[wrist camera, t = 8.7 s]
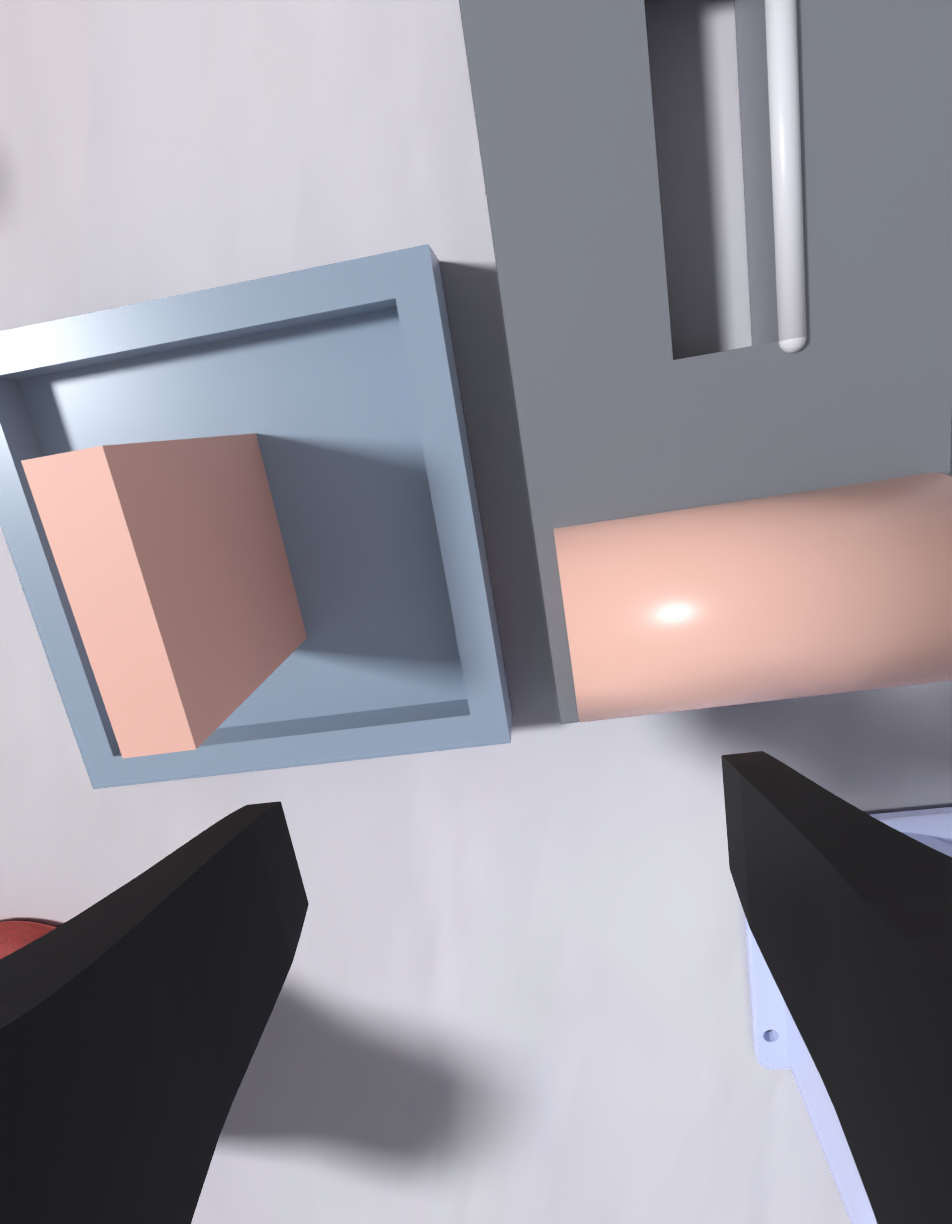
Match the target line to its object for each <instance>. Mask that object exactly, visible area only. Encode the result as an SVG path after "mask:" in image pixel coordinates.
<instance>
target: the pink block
mask: <svg viewBox="0 0 952 1224" xmlns="http://www.w3.org/2000/svg"><path fill="white" fill-rule="evenodd" d="M21 463H22V465H23V468H24V471H25V474H26V477H27V480H28V483H29V486H30V489H31V492H32V495H33V498H34V501H35V503H36V506H37V509H38V512H39V515H40V518H41V521H42V524H43V527H44V530H45V533H46V536H47V538H48V541H49V544H50V547H51V550H52V553H53V556H54V559H55V562H56V565H57V568H58V571H59V574H60V576H61V579H62V582H63V585H64V588H65V591H66V594H67V597H68V600H69V603H70V606H71V609H72V611H73V614H74V617H75V620H76V623H77V626H78V629H79V632H80V635H81V638H82V641H83V644H84V646H85V649H86V652H87V655H88V658H89V661H90V664H91V667H92V670H93V673H94V676H95V679H96V682H97V684H98V687H99V690H100V693H101V696H102V699H103V702H104V705H105V708H106V711H107V714H108V717H109V719H110V722H111V725H112V728H113V731H114V734H115V737H116V740H117V743H118V746H119V749H120V752H121V755H122V757H123V758H131V757H139V756H148V755H156V754H164V753H172V752H180V751H188V750H196V749H197V748H198V747H199V746H200V745H201V744H202V743H203V742H204V741H205V740H206V739H207V738H208V737H209V736H210V735H211V734H212V733H213V732H214V731H215V730H216V729H217V728H218V727H219V726H220V725H221V724H222V723H223V722H224V721H225V720H226V719H227V718H228V717H229V716H230V715H231V714H232V713H233V712H234V711H235V710H236V709H237V708H238V707H239V706H240V705H241V704H242V703H243V702H244V701H245V700H246V699H247V698H248V697H249V696H250V695H251V694H252V693H253V692H254V691H255V690H256V689H257V688H258V687H259V686H260V685H261V684H262V683H263V682H264V681H265V680H266V679H267V678H268V677H269V676H270V675H271V674H272V673H273V672H274V671H275V670H276V669H277V668H278V667H279V666H280V665H281V664H282V663H283V662H284V661H285V660H286V659H287V658H288V657H289V656H290V655H291V654H292V653H293V652H294V651H295V650H296V649H297V648H298V647H299V646H300V645H301V644H302V643H303V642H304V641H305V640H306V639H307V636H306V632H305V628H304V624H303V620H302V616H301V612H300V608H299V604H298V600H297V596H296V592H295V588H294V584H293V580H292V576H291V572H290V568H289V564H288V560H287V556H286V552H285V548H284V544H283V540H282V536H281V532H280V527H279V523H278V519H277V515H276V511H275V507H274V503H273V499H272V495H271V491H270V487H269V483H268V479H267V475H266V471H265V467H264V463H263V459H262V455H261V451H260V447H259V443H258V439H257V435H256V433H253V434H241V435H228V436H216V437H203V438H191V439H178V440H166V441H154V442H141V443H129V444H116V445H104V446H98V447H92V448H87V449H81V450H76V451H71V452H65V453H60V454H54V455H49V456H44V457H38V458H33V459H27V460H22V461H21Z"/></svg>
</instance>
